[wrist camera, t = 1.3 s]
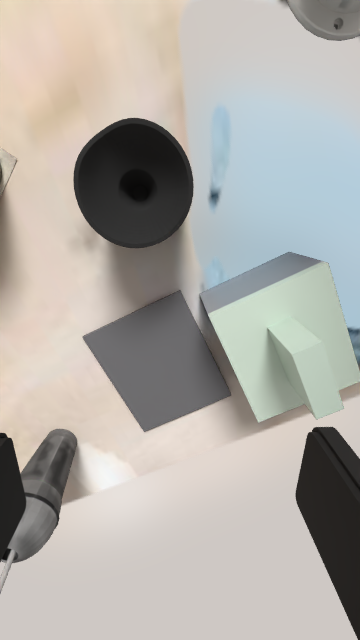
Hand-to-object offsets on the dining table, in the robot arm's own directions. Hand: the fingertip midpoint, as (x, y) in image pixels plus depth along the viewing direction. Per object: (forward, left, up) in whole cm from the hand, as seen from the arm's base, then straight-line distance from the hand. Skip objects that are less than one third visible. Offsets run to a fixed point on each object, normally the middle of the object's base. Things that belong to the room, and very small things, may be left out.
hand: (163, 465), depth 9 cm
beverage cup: (+25, +15, -28) cm, 40 cm away
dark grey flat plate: (+6, +10, -28) cm, 30 cm away
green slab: (-9, +10, -21) cm, 25 cm away
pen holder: (-2, -10, -28) cm, 30 cm away
